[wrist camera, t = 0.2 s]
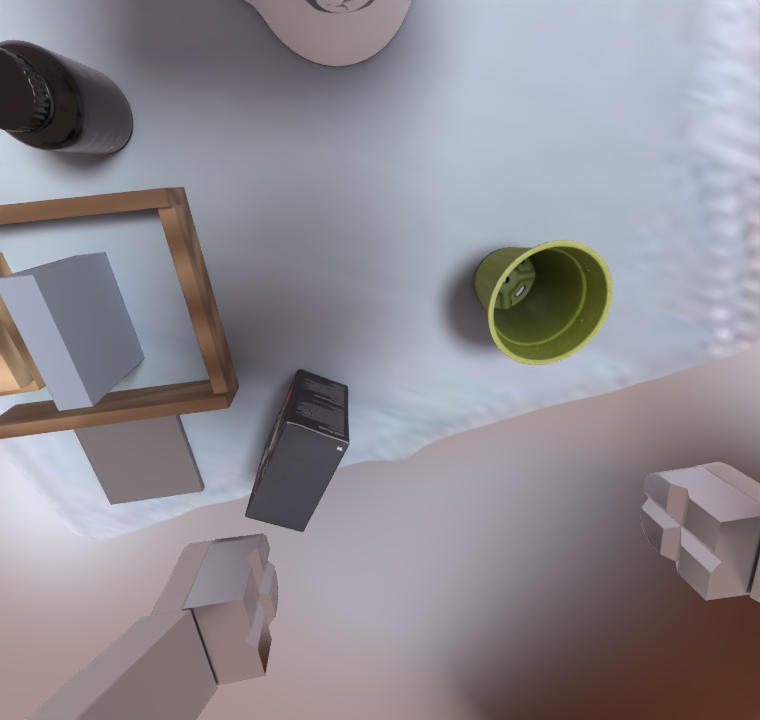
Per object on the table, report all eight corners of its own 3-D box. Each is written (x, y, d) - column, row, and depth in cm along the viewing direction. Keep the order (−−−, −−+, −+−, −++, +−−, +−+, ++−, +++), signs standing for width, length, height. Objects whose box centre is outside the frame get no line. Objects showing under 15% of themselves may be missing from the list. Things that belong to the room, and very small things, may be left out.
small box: (297, 366, 49) (286, 419, 38) (349, 385, 51) (352, 441, 40) (261, 450, 53) (243, 519, 42) (310, 464, 55) (304, 534, 44)
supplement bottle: (34, 88, 35) (-99, 47, 25) (102, 54, 35) (-3, -3, 24) (87, 168, 38) (-11, 163, 27) (150, 137, 38) (76, 120, 27)
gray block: (75, 255, 41) (-8, 279, 31) (105, 252, 41) (32, 274, 31) (118, 361, 46) (58, 410, 36) (144, 357, 46) (92, 406, 36)
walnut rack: (-89, 215, 38) (-146, 220, 34) (183, 187, 40) (164, 188, 35) (21, 415, 48) (-12, 440, 43) (238, 387, 49) (228, 408, 44)
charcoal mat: (77, 425, 49) (73, 428, 48) (177, 411, 50) (175, 415, 49) (113, 500, 54) (110, 504, 53) (204, 487, 55) (202, 491, 54)
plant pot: (446, 324, 49) (477, 363, 38) (464, 221, 44) (504, 234, 34) (538, 330, 50) (590, 368, 40) (565, 231, 46) (632, 246, 35)
